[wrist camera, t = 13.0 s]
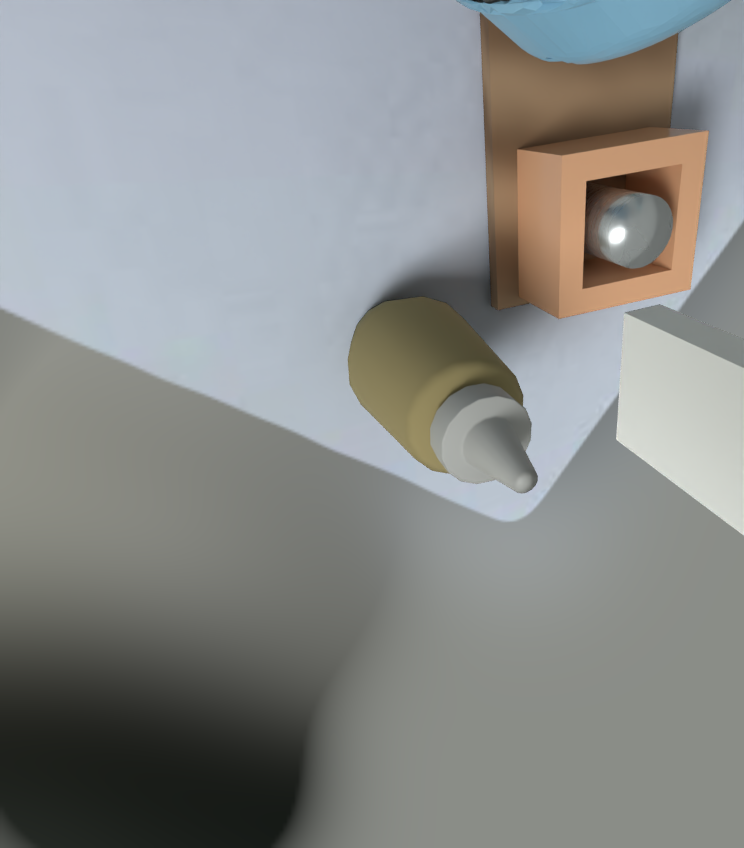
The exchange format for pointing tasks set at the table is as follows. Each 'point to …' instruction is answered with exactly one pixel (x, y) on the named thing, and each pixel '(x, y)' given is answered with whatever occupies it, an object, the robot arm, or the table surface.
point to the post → (625, 225)
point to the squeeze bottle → (442, 392)
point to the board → (557, 124)
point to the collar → (565, 217)
